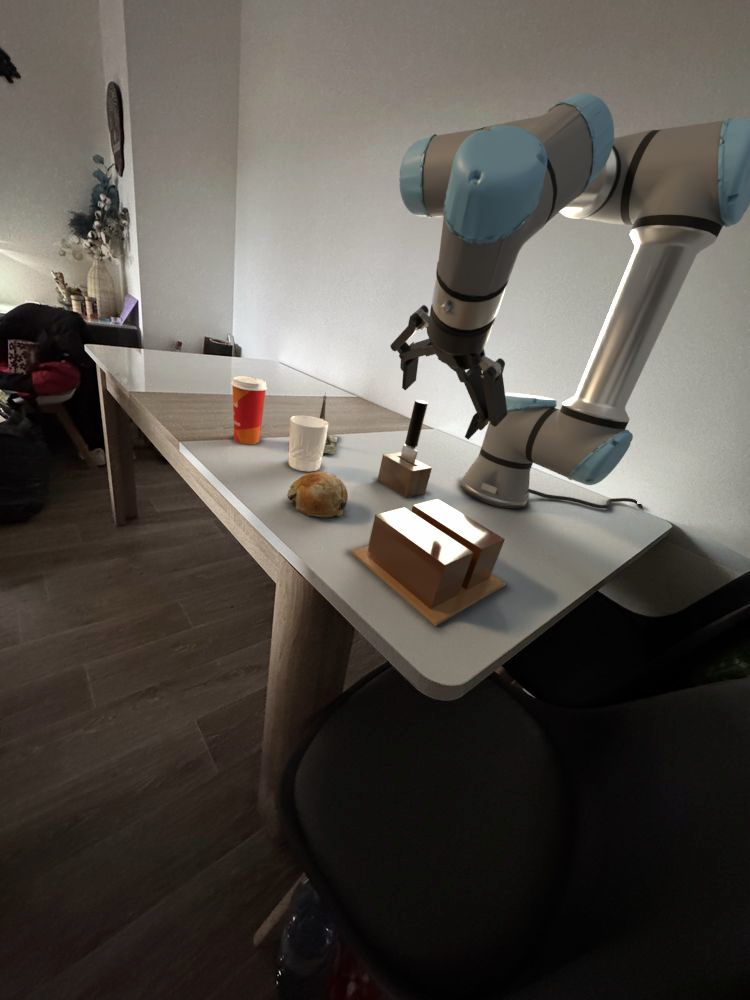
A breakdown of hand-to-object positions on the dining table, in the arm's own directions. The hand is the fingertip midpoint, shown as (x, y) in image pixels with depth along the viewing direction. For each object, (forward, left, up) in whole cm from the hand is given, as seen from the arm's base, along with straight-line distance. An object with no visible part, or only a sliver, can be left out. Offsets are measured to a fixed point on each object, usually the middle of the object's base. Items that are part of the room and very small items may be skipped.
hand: (439, 408), depth 65 cm
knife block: (-2, -12, -21) cm, 24 cm away
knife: (-2, -12, -21) cm, 24 cm away
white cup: (+18, -20, -21) cm, 34 cm away
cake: (+4, +17, -21) cm, 27 cm away
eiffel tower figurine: (+13, -35, -21) cm, 43 cm away
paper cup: (+30, -33, -21) cm, 49 cm away
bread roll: (+18, -2, -21) cm, 27 cm away
